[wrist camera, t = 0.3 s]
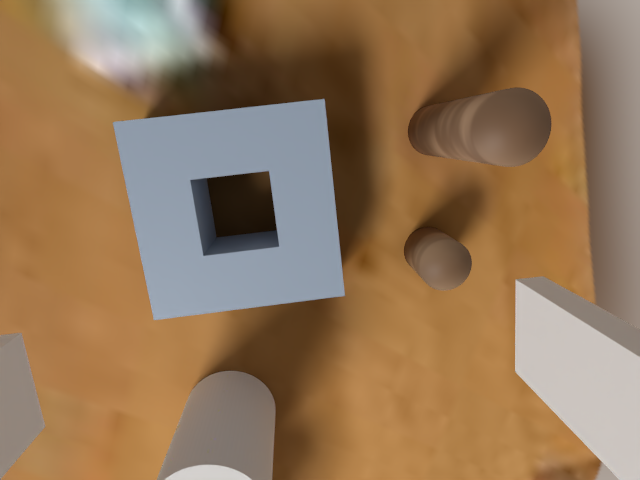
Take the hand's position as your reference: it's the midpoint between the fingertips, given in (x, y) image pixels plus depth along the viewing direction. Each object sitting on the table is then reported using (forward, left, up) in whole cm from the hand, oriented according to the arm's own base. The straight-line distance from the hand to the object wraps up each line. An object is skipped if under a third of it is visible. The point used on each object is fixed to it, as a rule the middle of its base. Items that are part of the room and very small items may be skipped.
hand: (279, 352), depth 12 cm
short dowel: (+5, +11, -27) cm, 29 cm away
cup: (+18, -7, -27) cm, 33 cm away
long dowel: (-5, +12, -26) cm, 30 cm away
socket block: (-1, -3, -26) cm, 27 cm away
